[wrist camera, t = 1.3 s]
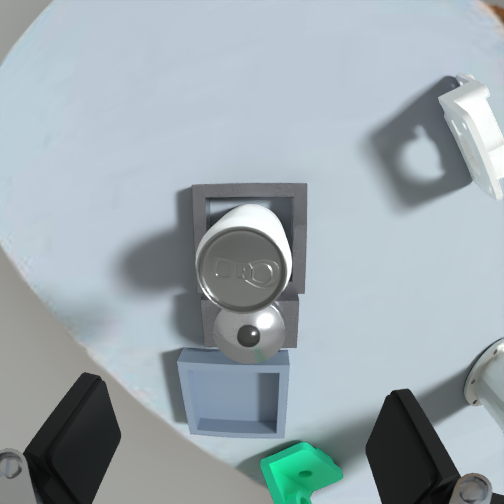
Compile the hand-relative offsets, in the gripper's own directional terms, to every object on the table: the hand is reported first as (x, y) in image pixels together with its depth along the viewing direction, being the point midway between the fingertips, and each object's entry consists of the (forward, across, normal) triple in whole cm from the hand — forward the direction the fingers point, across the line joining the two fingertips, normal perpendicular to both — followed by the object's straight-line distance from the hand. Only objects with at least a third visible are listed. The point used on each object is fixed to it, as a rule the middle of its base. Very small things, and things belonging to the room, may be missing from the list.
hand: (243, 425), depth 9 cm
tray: (+22, +1, +18) cm, 29 cm away
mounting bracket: (+23, -23, -15) cm, 36 cm away
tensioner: (+23, 0, +1) cm, 23 cm away
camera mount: (+22, -9, +33) cm, 41 cm away
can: (+23, 0, -2) cm, 23 cm away
